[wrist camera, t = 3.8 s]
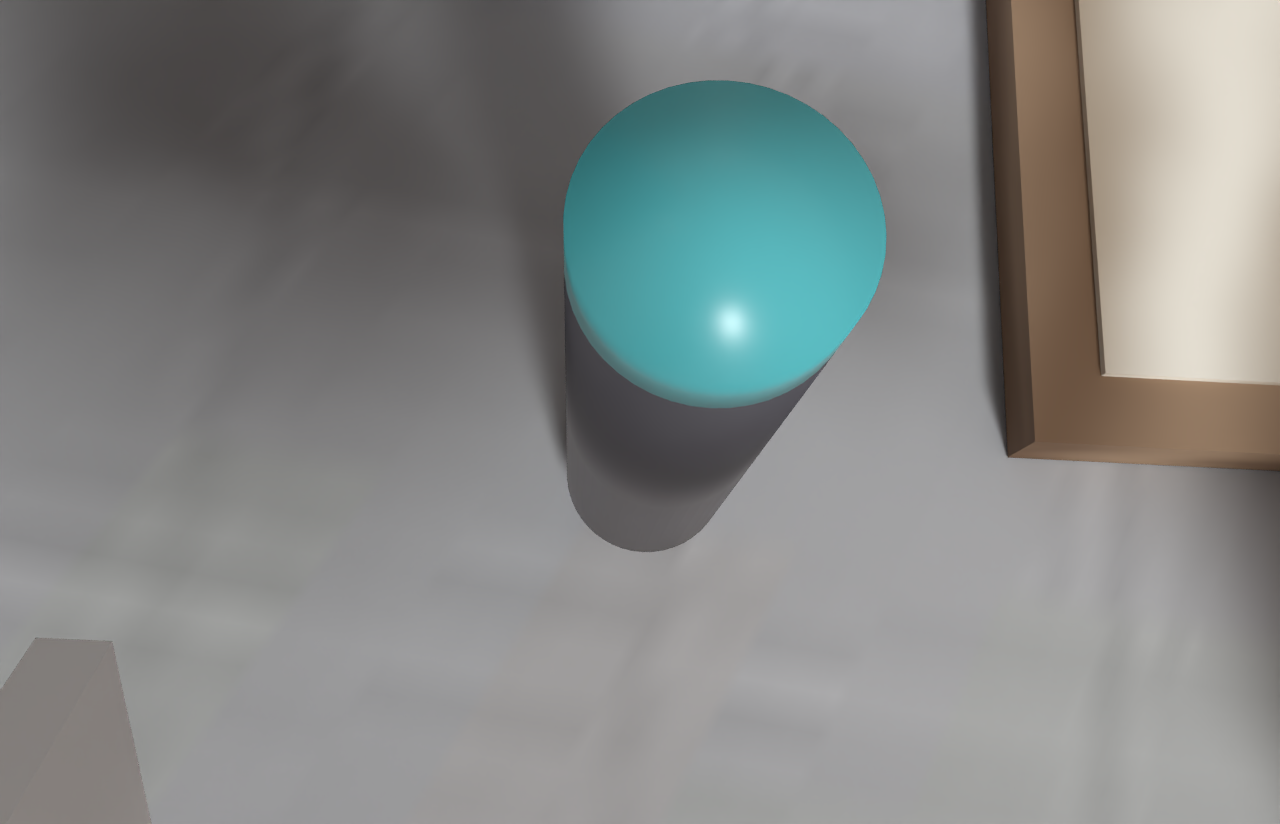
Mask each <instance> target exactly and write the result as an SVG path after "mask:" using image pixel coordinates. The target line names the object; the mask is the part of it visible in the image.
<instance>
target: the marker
mask: <svg viewBox="0 0 1280 824" xmlns="http://www.w3.org/2000/svg"><path fill="white" fill-rule="evenodd" d="M563 224H564V293H565V359H566V425H567V481H568V488H569V492H570V496H571V499H572V502H573V504H574V506H575V509H576V510H577V512H578V514H579V515H580V517H581V518H582V520H583V521H584V522H585V523H586V525H587V526H588V527H589V528H590V529H591V530H592V531H593V532H594V533H595V534H597V535H598V536H600V537H601V538H602V539H604V540H605V541H607V542H609V543H611V544H613V545H615V546H618V547H620V548H623V549H627V550H631V551H639V552H655V551H662V550H666V549H669V548H673V547H675V546H678V545H680V544H682V543H684V542H686V541H687V540H689V539H691V538H692V537H693V536H695V535H696V534H697V533H698V532H700V531H701V530H702V529H703V527H704V526H705V525H706V524H707V523H708V522H709V520H710V519H711V518H712V516H713V515H714V514H715V512H716V511H717V510H718V508H719V507H720V506H721V504H722V503H723V502H724V500H725V499H726V498H727V496H728V495H729V494H730V492H731V491H732V490H733V488H734V487H735V486H736V484H737V483H738V482H739V480H740V479H741V478H742V476H743V475H744V474H745V472H746V471H747V469H748V468H749V467H750V465H751V464H752V463H753V461H754V460H755V459H756V457H757V456H758V455H759V453H760V452H761V451H762V449H763V448H764V447H765V445H766V444H767V443H768V441H769V440H770V439H771V437H772V436H773V435H774V433H775V432H776V431H777V429H778V428H779V427H780V425H781V424H782V423H783V421H784V420H785V419H786V417H787V416H788V415H789V413H790V412H791V411H792V409H793V408H794V407H795V405H796V404H797V403H798V401H799V400H800V399H801V397H802V396H803V394H804V393H805V392H806V390H807V389H808V388H809V386H810V385H811V384H812V382H813V381H814V380H815V378H816V377H817V376H818V374H819V373H820V372H821V370H822V369H823V368H824V366H825V365H826V364H827V362H828V361H829V360H830V358H831V357H832V356H833V354H834V353H835V352H836V350H837V349H838V348H839V346H840V345H841V344H842V342H843V341H844V340H845V338H846V337H847V336H848V334H849V333H850V332H851V330H852V329H853V328H854V326H855V325H856V323H857V322H858V321H859V319H860V318H861V316H862V315H863V314H864V312H865V311H866V309H867V307H868V305H869V303H870V301H871V300H872V298H873V296H874V294H875V292H876V289H877V286H878V283H879V280H880V277H881V274H882V270H883V264H884V259H885V253H886V225H885V215H884V210H883V206H882V202H881V197H880V194H879V192H878V189H877V186H876V184H875V181H874V178H873V176H872V174H871V173H870V171H869V169H868V167H867V165H866V163H865V161H864V160H863V158H862V157H861V155H860V154H859V153H858V151H857V150H856V148H855V147H854V146H853V144H852V143H851V142H850V141H849V140H848V139H847V138H846V136H845V135H844V134H843V133H842V132H841V131H840V130H839V129H838V128H837V127H836V126H835V125H833V124H832V123H831V122H830V121H829V120H828V119H826V118H825V117H824V116H823V115H821V114H820V113H818V112H817V111H815V110H814V109H812V108H811V107H809V106H808V105H806V104H804V103H803V102H801V101H799V100H797V99H795V98H793V97H791V96H789V95H786V94H784V93H781V92H778V91H776V90H773V89H770V88H767V87H763V86H759V85H755V84H750V83H744V82H736V81H709V80H708V81H699V82H691V83H685V84H681V85H677V86H672V87H668V88H666V89H663V90H660V91H658V92H655V93H652V94H650V95H648V96H646V97H644V98H642V99H640V100H638V101H636V102H634V103H632V104H631V105H629V106H628V107H627V108H625V109H624V110H622V111H621V112H619V113H618V114H617V115H615V116H614V117H613V118H612V119H611V120H610V121H609V122H608V123H607V124H606V125H605V126H603V127H602V128H601V130H600V131H599V132H598V133H597V134H596V136H595V137H594V138H593V139H592V140H591V142H590V143H589V144H588V146H587V148H586V149H585V151H584V152H583V154H582V156H581V157H580V159H579V161H578V163H577V165H576V168H575V170H574V172H573V174H572V177H571V180H570V184H569V187H568V191H567V194H566V200H565V207H564V215H563Z"/></svg>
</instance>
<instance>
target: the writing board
mask: <svg viewBox="0 0 1280 824" xmlns="http://www.w3.org/2000/svg"><path fill="white" fill-rule="evenodd" d="M986 11H987V32H988V52H989V73H990V94H991V115H992V136H993V157H994V178H995V199H996V220H997V241H998V262H999V283H1000V304H1001V325H1002V346H1003V367H1004V388H1005V409H1006V430H1007V450H1008V457H1012V458H1032V459H1052V460H1072V461H1092V462H1112V463H1132V464H1152V465H1172V466H1192V467H1211V468H1231V469H1251V470H1271V471H1280V0H986Z"/></svg>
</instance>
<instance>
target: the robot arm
mask: <svg viewBox="0 0 1280 824" xmlns="http://www.w3.org/2000/svg"><path fill="white" fill-rule="evenodd" d="M0 824H151V819H150V815H149V810H148V805H147V801H146V796H145V791H144V787H143V782H142V777H141V773H140V768H139V764H138V759H137V754H136V750H135V745H134V740H133V736H132V731H131V726H130V722H129V717H128V712H127V708H126V703H125V699H124V694H123V689H122V685H121V680H120V675H119V671H118V666H117V661H116V657H115V652H114V648H113V643H112V641H96V640H73V639H51V638H35V640H34V641H33V642H32V644H31V645H30V647H29V648H28V650H27V651H26V653H25V654H24V656H23V657H22V659H21V660H20V662H19V663H18V665H17V666H16V668H15V669H14V671H13V672H12V674H11V675H10V677H9V678H8V680H7V681H6V683H5V684H4V686H3V687H2V689H1V690H0Z"/></svg>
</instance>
